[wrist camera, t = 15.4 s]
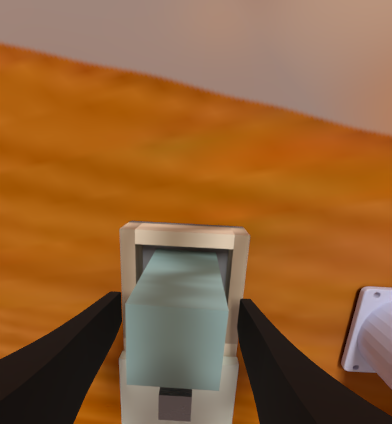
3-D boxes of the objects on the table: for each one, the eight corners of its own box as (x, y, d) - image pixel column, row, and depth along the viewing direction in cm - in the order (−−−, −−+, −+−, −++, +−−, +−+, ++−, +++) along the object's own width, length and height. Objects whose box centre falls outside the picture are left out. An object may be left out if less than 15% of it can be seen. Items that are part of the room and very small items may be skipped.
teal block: (215, 252, 14) (228, 311, 8) (210, 304, 15) (219, 391, 9) (156, 248, 14) (125, 303, 8) (155, 300, 15) (126, 384, 9)
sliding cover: (237, 357, 13) (246, 400, 11) (227, 439, 15) (232, 493, 13) (122, 350, 13) (104, 392, 11) (125, 433, 15) (111, 486, 13)
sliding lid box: (242, 226, 14) (250, 235, 12) (223, 402, 17) (227, 431, 15) (130, 220, 14) (119, 228, 12) (135, 397, 17) (126, 426, 15)
